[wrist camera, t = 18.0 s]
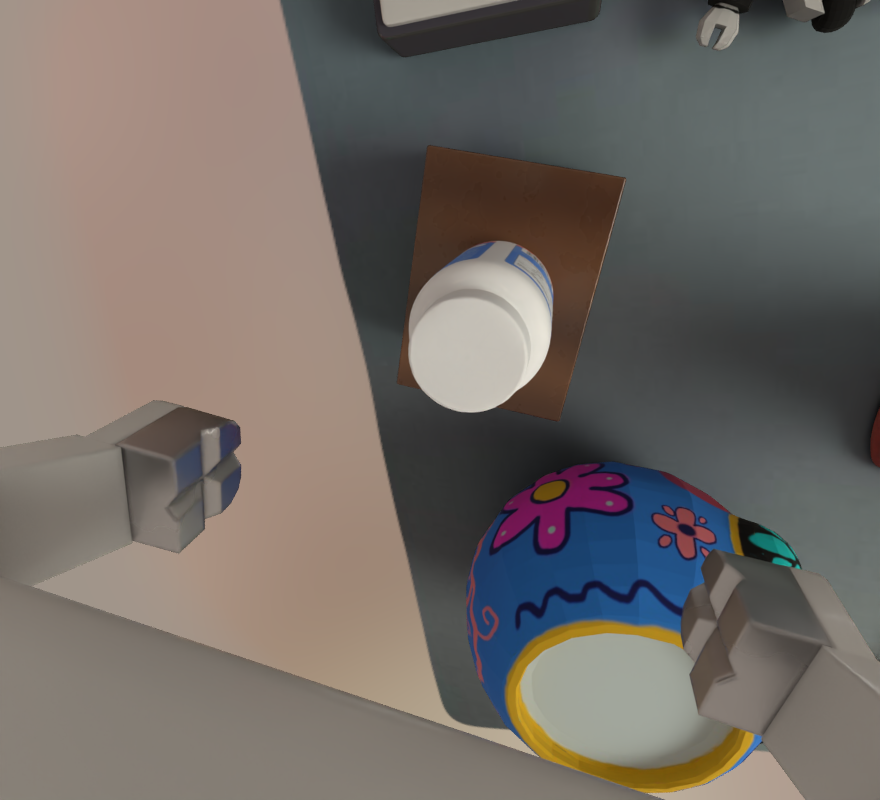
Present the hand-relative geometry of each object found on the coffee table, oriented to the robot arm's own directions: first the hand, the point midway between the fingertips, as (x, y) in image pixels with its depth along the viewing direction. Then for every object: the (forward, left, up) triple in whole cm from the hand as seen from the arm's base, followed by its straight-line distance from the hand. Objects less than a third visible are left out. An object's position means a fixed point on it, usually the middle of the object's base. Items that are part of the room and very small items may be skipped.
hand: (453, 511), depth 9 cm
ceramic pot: (+17, +9, -27) cm, 33 cm away
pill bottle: (0, -1, -19) cm, 19 cm away
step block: (0, -2, -27) cm, 27 cm away
